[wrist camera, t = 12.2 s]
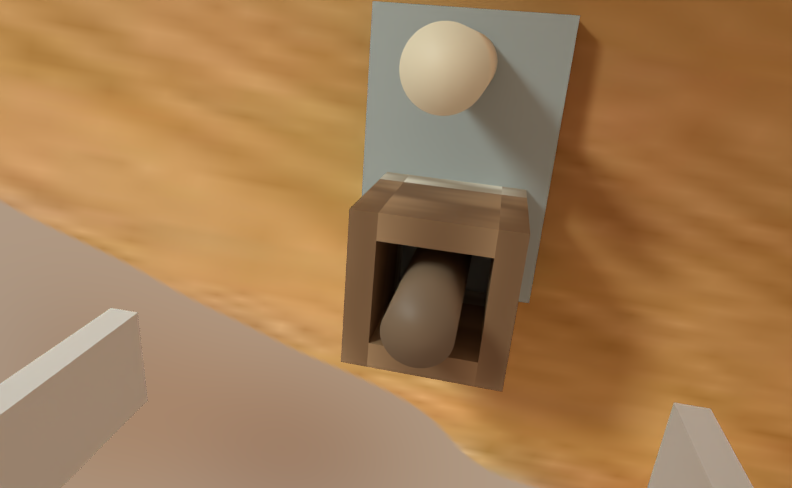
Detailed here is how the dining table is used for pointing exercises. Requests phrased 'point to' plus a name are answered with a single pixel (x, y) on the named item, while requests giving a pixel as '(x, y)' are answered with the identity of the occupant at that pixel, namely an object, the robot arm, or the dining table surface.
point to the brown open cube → (447, 231)
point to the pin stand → (461, 139)
